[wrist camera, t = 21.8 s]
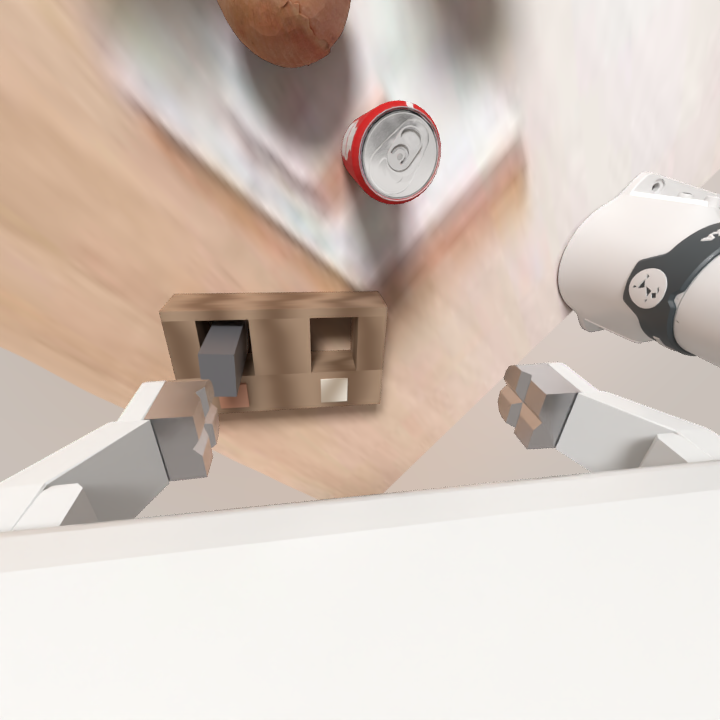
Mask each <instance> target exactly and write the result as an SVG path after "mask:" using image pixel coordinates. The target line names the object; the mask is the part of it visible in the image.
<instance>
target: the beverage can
mask: <svg viewBox="0 0 720 720" xmlns="http://www.w3.org/2000/svg"><path fill="white" fill-rule="evenodd" d="M341 152H342V159H343V163H344V165H345V167H346V169H347V171H348V172H349V174H350V175H351V176H352V177H353V179H354V180H355V181H356V182H357V183H358V184H359V185H360V187H361V188H362V189H363V190H364V191H365V192H366V193H367V194H368V195H369V196H370V197H372V198H374V199H375V200H377V201H379V202H382V203H386V204H402V203H405V202H408V201H411V200H413V199H414V198H416V197H418V196H419V195H420V194H421V193H423V192H424V191H425V190H426V189H427V187H428V186H429V185H430V184H431V182H432V180H433V178H434V177H435V175H436V172H437V169H438V167H439V162H440V157H441V143H440V137H439V133H438V130H437V128H436V125H435V124H434V122H433V120H432V118H431V117H430V116H429V115H428V114H427V113H426V112H425V110H423V109H422V108H420V107H419V106H417V105H415V104H413V103H410V102H407V101H399V100H398V101H390V102H387V103H384V104H381V105H379V106H377V107H376V108H374V109H372V110H371V111H369V112H367V113H366V114H364V115H362V116H361V117H359V118H357V119H356V120H354V121H353V123H352V124H351V125H350V126H349V127H348V129H347V130H346V132H345V135H344V137H343V141H342V149H341Z"/></svg>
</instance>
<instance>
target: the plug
mask: <svg viewBox="0 0 720 720" xmlns="http://www.w3.org/2000/svg"><path fill="white" fill-rule="evenodd" d="M248 348H249V345H248V323H247V320H214V322H213V324H212V326H211V328H210V330H209V332H208V334H207V336H206V338H205V340H204V342H203V344H202V346H201V348H200V350H199V352H198V360H199V368H200V377H201V380H210V381H211V382H212V385H213V390H214V397H237V394H238V390H239V386H240V382H241V377H242V373H243V369H244V365H245V361H246V357H247V352H248Z"/></svg>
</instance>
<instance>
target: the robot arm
mask: <svg viewBox="0 0 720 720" xmlns="http://www.w3.org/2000/svg"><path fill="white" fill-rule="evenodd" d="M653 185H654V187H653ZM652 187H653V189H652ZM558 283H559V289H560V293H561V296H562V298H563V300H564V301H565V302H566V304H567V305H568V306H569V307H570V308H571V309H573V310H574V311H575V312H576V313H577V316H578V320H579V323H580V325H581V327H582V328H583V329H584V330H587V331H589V332H595V331H600V330H603V329H606V330H608V331H610V332H612V333H614V334H616V335H619V336H621V337H623V338H625V339H627V340H630V341H632V342H635V343H642V342H647V341H652V340H655V341H657V342H658V343H659V344H661V345H662V346H665V347H666V348H668V349H671V350H673V351H678V352H680V353H682V354H685V355H689V356H698V357H700V358H702V359H704V360H706V361H708V362H710V363H712V364H714V365H716V366H718V367H720V194H717V193H713V192H711V191H707V190H704V189H702V188H699V187H696V186H693V185H690V184H687V183H684V182H681V181H678V180H675V179H672V178H669V177H666V176H663V175H659V174H656V173H652V172H643V173H641V174H639V175H638V176H637V177H636V178H634V179H633V181H632V182H631V183H630V184H629V185H628V186H627V187H626V188H625V189H624V190H623V192H622V193H621V194H620V195H618V196H617V197H616V198H614V199H613V200H611V201H610V202H608V203H606V204H605V205H603V206H602V207H600V208H599V209H597V210H596V211H595V212H594V213H592V214H591V215H590V216H589V217H588V218H587V219H586V220H585V221H584V222H583V223H582V224H581V225H580V227H579V228H578V229H577V230H576V232H575V233H574V235H573V236H572V238H571V239H570V241H569V243H568V245H567V247H566V249H565V251H564V253H563V256H562V259H561V263H560V267H559V274H558ZM504 380H505V382H506V384H507V385H506V386H505V387H504V388H503V389H502V390H501V391H500V394H499V398H498V407H499V412H500V414H501V417H502V418H503V419H504V421H505V422H506V423H508V424H510V425H511V426H513V427H515V430H514V434H515V435H516V436H517V437H518V439H519V440H520V441H521V442H522V444H523V445H524V446H525V447H526V449H541V448H556V450H558V451H559V452H561V453H563V454H564V455H566V456H567V457H569V458H570V459H572V460H573V461H575V462H576V463H578V464H580V465H581V466H583V467H584V468H586V469H587V470H589V471H590V472H591V473H582V474H572V475H562V476H552V477H542V478H533V479H523V480H512V481H502V482H492V483H482V484H472V485H463V486H453V487H443V488H433V489H423V490H413V491H403V492H393V493H384V494H374V495H364V496H354V497H344V498H334V499H324V500H314V501H304V502H295V503H284V504H274V505H264V506H255V507H245V508H234V509H224V510H214V511H205V512H195V513H185V514H175V515H165V516H155V517H145V518H135V517H136V516H137V515H138V514H139V513H140V512H141V511H142V510H143V509H144V508H145V507H146V506H147V505H148V504H149V503H150V502H151V501H152V500H153V499H154V498H155V497H156V496H157V495H158V494H159V493H160V492H161V491H162V490H163V489H164V488H165V487H166V486H167V485H168V484H169V481H177V480H186V479H195V478H204V477H207V476H208V472H209V469H210V466H211V462H212V459H213V455H212V449H211V448H212V447H213V446H215V445H216V444H217V440H218V436H219V415H218V410H217V408H216V407H215V406H214V405H213V404H212V400H213V397H214V390H213V385H212V382H211V381H210V380H175V381H150V382H144V383H142V384H141V386H140V387H139V389H138V390H137V392H136V393H135V395H134V396H133V398H132V399H131V401H130V402H129V404H128V405H127V407H126V408H125V410H124V411H123V413H122V414H121V416H120V417H119V419H118V420H117V422H109V423H107V424H105V425H103V426H101V427H100V428H98V429H96V430H94V431H92V432H91V433H89V434H87V435H85V436H83V437H82V438H80V439H78V440H76V441H74V442H73V443H71V444H69V445H67V446H66V447H64V448H62V449H60V450H58V451H56V452H55V453H53V454H51V455H49V456H47V457H46V458H44V459H42V460H40V461H38V462H37V463H35V464H33V465H31V466H29V467H27V468H26V469H24V470H22V471H20V472H19V473H17V474H15V475H13V476H11V477H9V478H8V479H6V480H4V481H2V482H1V483H0V720H720V436H719V435H717V434H716V433H714V432H713V431H712V430H710V429H708V428H705V427H703V426H700V425H697V424H694V423H691V422H689V421H686V420H683V419H681V418H678V417H675V416H672V415H670V414H667V413H664V412H661V411H658V410H656V409H653V408H650V407H648V406H645V405H642V404H639V403H637V402H634V401H631V400H628V399H625V398H623V397H620V396H617V395H614V394H612V393H609V392H606V391H601V392H600V391H599V390H598V389H597V388H595V387H594V386H593V385H591V384H590V383H588V382H587V381H586V380H585V379H584V378H582V377H581V376H580V375H578V374H577V373H576V372H574V371H573V370H572V369H571V368H569V367H568V366H567V365H566V364H564V363H561V362H551V363H540V364H527V365H513V366H509V367H508V369H507V370H506V372H505V376H504ZM134 518H135V519H134Z"/></svg>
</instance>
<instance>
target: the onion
mask: <svg viewBox="0 0 720 720" xmlns="http://www.w3.org/2000/svg"><path fill="white" fill-rule="evenodd" d="M217 2H218V4H219V6H220V8H221V10H222V12H223V14H224V17H225V18H226V20H227V22H228V24H229V25H230V27H231V28H232V30H233V31H234V33H235V34H236V35H237V37H238V38H239V40H240V41H241V42H242V43H243V44H244V45H245V46H246V47H247V48H248V49H250V50H251V51H252V52H253V53H255V54H256V55H257V56H258V57H260V58H262V59H263V60H265V61H268V62H270V63H272V64H275V65H279V66H281V67H287V68H296V67H301V66H305V65H308V66H309V65H310V64H312V63H314V62H317V61H318V60H320V59H322V58H324V57H325V56H327V55H328V54H329V53H330V48H331V47H332V46H333V44H334V43H335V42H336V41H337V39H338V38H339V36H340V35H341V33H342V31H343V29H344V26H345V23H346V20H347V16H348V12H349V8H350V2H351V0H217Z"/></svg>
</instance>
